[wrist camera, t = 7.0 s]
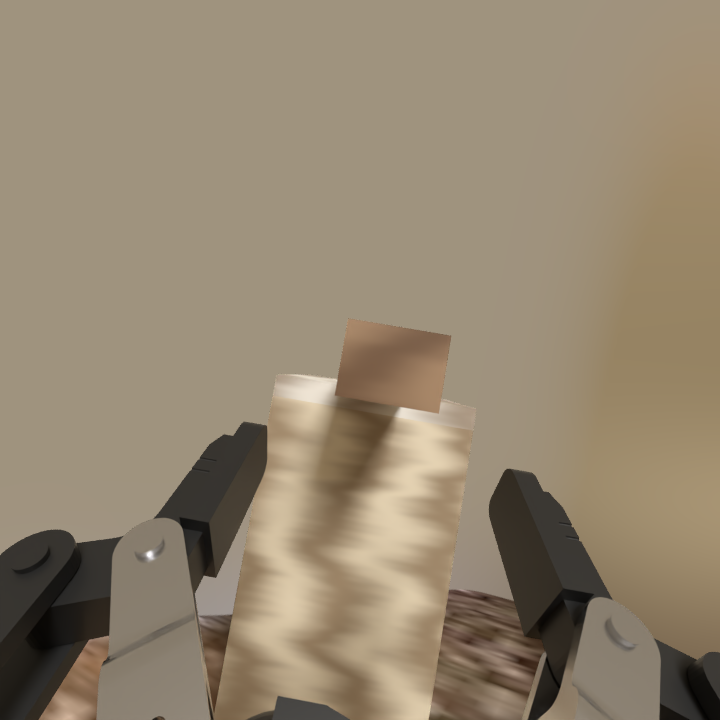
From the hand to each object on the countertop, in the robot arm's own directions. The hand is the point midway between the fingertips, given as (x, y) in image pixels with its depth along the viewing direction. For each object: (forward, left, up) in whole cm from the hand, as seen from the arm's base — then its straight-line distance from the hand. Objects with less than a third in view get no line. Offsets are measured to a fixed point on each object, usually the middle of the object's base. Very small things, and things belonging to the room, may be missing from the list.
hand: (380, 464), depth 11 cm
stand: (0, -19, -30) cm, 36 cm away
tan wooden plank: (0, -14, +2) cm, 14 cm away
